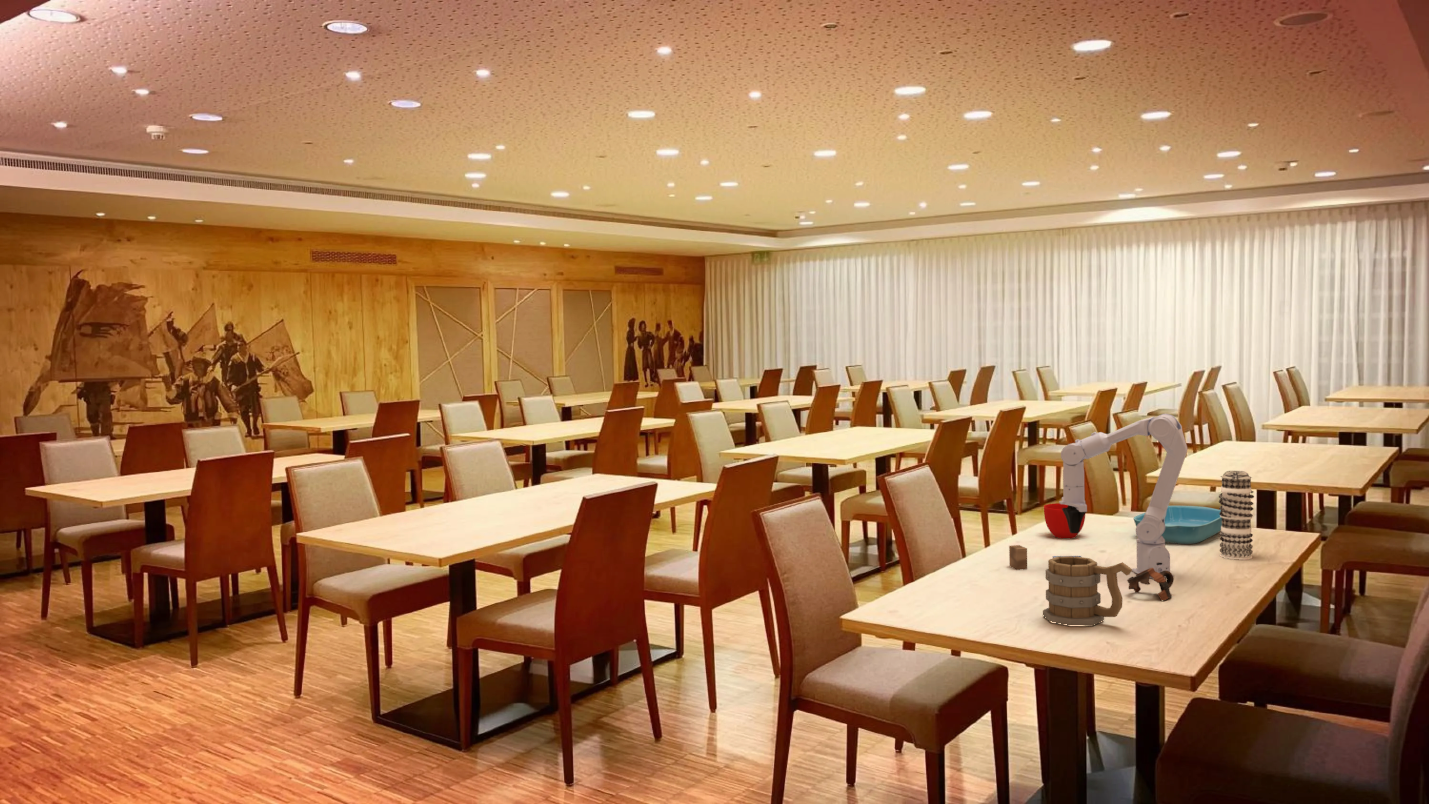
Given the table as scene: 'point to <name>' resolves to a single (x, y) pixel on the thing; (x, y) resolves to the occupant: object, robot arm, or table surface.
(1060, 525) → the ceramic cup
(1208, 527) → the casserole dish
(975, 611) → the table surface
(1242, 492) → the decorative candle
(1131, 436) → the robot arm
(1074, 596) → the tankard
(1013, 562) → the walnut block
